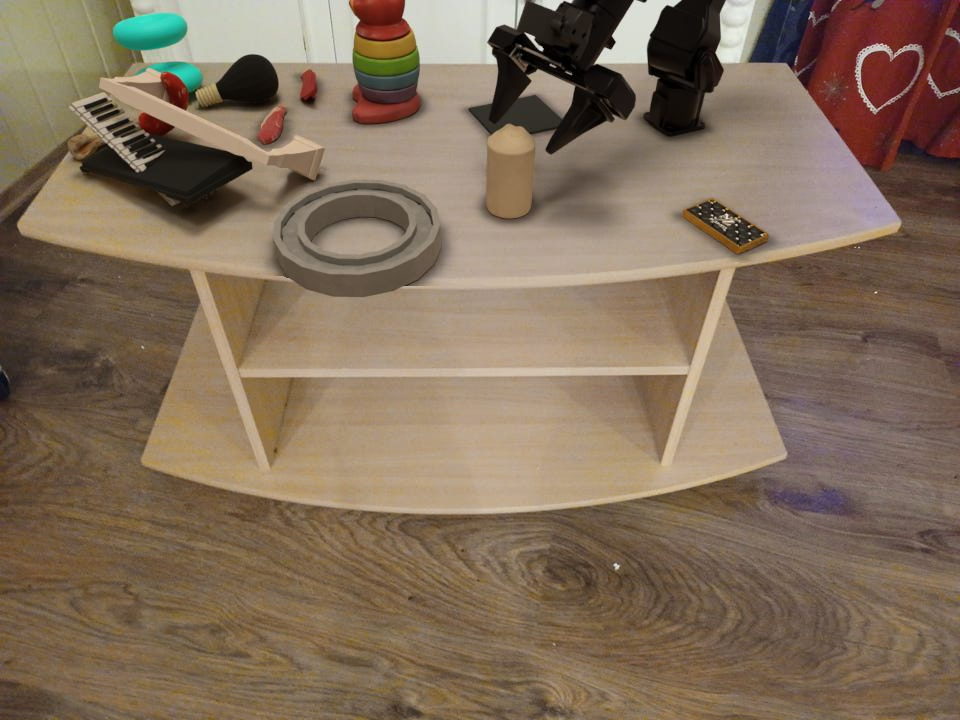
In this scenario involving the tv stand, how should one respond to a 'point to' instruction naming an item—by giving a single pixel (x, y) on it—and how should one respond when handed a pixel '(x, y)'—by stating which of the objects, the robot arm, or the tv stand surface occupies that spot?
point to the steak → (272, 125)
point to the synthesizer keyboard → (155, 157)
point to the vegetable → (177, 98)
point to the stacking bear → (384, 62)
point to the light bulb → (243, 83)
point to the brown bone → (90, 142)
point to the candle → (510, 172)
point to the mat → (520, 116)
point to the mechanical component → (357, 270)
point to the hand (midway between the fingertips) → (518, 137)
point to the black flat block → (725, 225)
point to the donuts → (158, 42)
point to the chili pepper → (309, 85)
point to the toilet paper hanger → (210, 125)
